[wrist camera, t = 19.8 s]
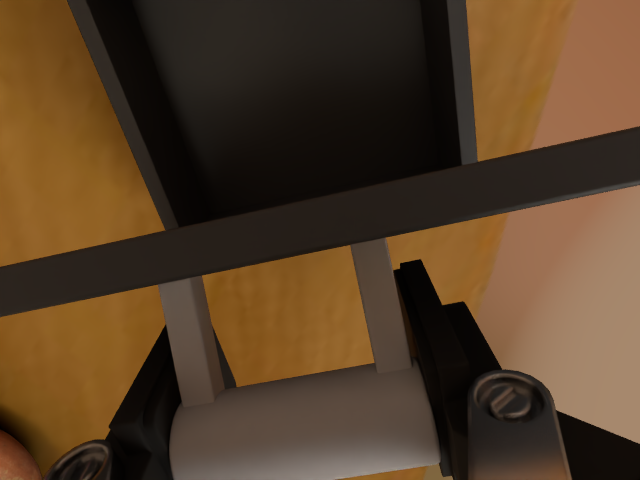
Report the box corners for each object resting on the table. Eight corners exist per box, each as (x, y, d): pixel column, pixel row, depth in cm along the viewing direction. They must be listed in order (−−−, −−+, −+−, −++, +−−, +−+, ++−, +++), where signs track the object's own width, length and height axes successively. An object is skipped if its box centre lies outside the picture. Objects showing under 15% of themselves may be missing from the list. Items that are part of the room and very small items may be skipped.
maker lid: (-223, 314, 7) (-165, 621, 7) (812, 87, 6) (899, 483, 5) (175, 261, 23) (195, 358, 22) (482, 196, 21) (504, 301, 21)
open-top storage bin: (111, -27, 22) (45, -48, 17) (419, -117, 20) (453, -170, 15) (206, 222, 28) (179, 264, 23) (449, 169, 26) (480, 201, 21)
